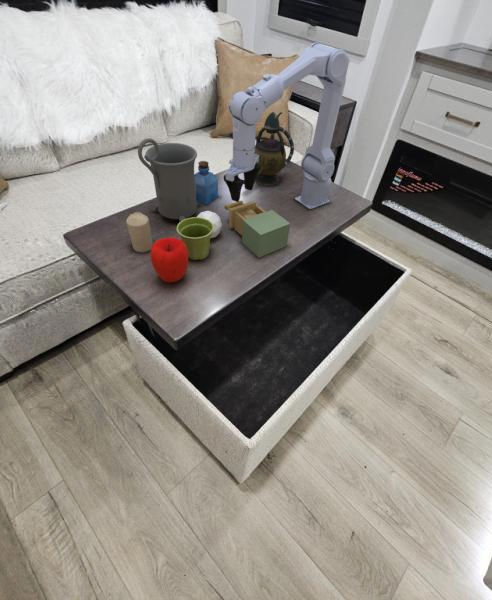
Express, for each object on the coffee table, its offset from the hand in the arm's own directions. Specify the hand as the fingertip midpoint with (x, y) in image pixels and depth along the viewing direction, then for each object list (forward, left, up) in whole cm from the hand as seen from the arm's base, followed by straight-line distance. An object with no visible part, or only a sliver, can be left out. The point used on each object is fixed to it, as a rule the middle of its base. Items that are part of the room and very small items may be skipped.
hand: (242, 194), depth 96 cm
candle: (+29, -5, -10) cm, 32 cm away
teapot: (-21, -18, -10) cm, 30 cm away
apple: (+28, +11, -10) cm, 32 cm away
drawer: (0, +1, -9) cm, 9 cm away
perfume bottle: (+2, -19, -10) cm, 22 cm away
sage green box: (0, +12, -10) cm, 16 cm away
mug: (+15, -14, -10) cm, 23 cm away
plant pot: (+18, +6, -10) cm, 22 cm away
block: (0, +6, -6) cm, 8 cm away
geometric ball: (+11, 0, -10) cm, 15 cm away
